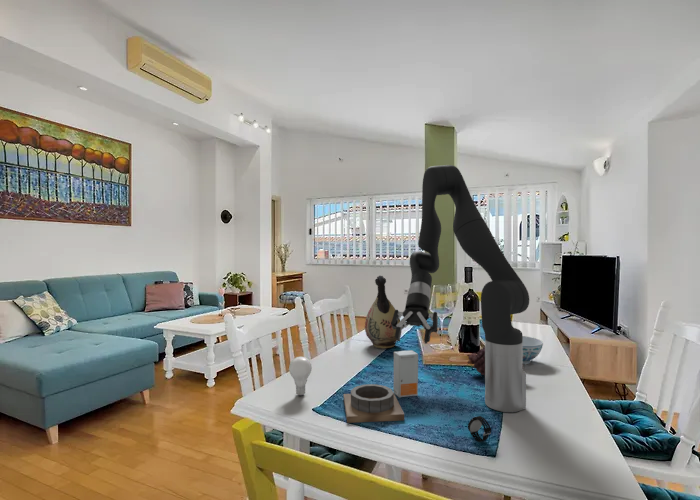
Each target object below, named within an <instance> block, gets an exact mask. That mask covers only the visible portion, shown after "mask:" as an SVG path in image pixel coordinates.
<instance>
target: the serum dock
mask: <svg viewBox="0 0 700 500" xmlns="http://www.w3.org/2000/svg"><path fill="white" fill-rule="evenodd" d="M343 404H344V412H345V418H346V422H347V424H349V423H350V424H351V423H369V422H370V423H371V422H373V423H374V422H395V421H396V422H397V421H405V412H404V410H403V409H402V406H401V405H400V402H399V400H398V398H397V395H396V394H395V393H394V391H393V389H392V388H391V387H388V386H385V385H382V384H374V383H372V384H371V383H369V384H360V385H357V386H355V387H353V388H351V390H350V393H343Z"/></svg>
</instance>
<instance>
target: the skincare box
mask: <svg viewBox="0 0 700 500" xmlns="http://www.w3.org/2000/svg"><path fill="white" fill-rule="evenodd" d="M392 391H393V392H394V394H395V396H396V397H398V398H406V397H415V396H417V397H418V396H419V395H418V394H419V353H417V352H416V351H414V350H399V351H393V389H392Z"/></svg>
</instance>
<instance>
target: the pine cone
mask: <svg viewBox="0 0 700 500" xmlns="http://www.w3.org/2000/svg"><path fill="white" fill-rule="evenodd" d="M466 357H468V360H467V364H468V365H469V364H470V365H473V368H474V369H475V370H476V371H477V372H478V373H479V374H480V375H482V376H485V347H483V348H480V349H479V350H478V351H477V352H473V353H470V354H467V356H466ZM523 368H525V367H524V365H523Z"/></svg>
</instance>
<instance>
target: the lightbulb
mask: <svg viewBox="0 0 700 500" xmlns="http://www.w3.org/2000/svg"><path fill="white" fill-rule="evenodd" d="M288 367H289V368H288V371H289V374H290V375H291V377H292V379H293V381H294V385H295V394H296V395H297V396H299V397H301V396H303V395H305V394H306V384H307V380H308V378H309V376H310V375H311V373H312V370H313V369H312V368H313V367H312V363H311V361H310V360H309V359H308V358H307V357H305V356H297V357H294V358H293V359H292V360H291V362H290V363H289V366H288Z"/></svg>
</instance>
